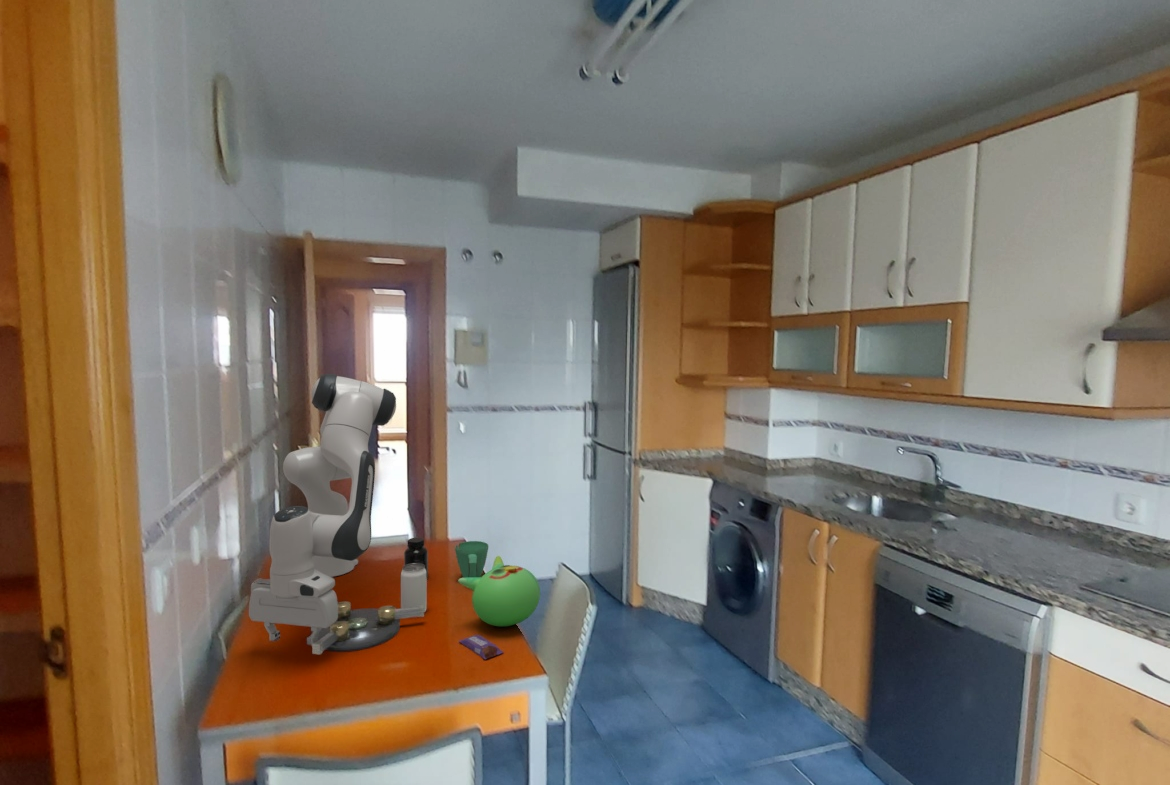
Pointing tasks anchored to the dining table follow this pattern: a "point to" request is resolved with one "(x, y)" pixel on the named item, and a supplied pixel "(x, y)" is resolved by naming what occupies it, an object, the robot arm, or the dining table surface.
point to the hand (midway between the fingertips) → (293, 642)
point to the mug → (471, 558)
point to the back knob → (344, 610)
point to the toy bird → (504, 594)
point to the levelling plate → (363, 631)
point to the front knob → (332, 637)
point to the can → (413, 586)
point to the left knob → (398, 613)
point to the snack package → (481, 646)
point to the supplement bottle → (416, 553)
